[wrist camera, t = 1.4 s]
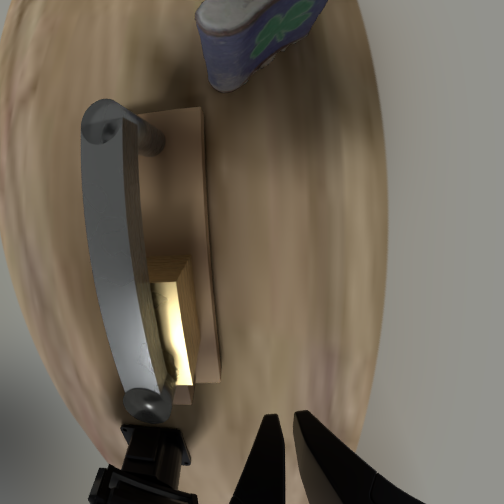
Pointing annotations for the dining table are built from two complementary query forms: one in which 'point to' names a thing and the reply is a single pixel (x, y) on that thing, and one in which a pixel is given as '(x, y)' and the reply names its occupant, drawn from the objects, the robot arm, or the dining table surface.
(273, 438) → the robot arm
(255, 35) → the flask
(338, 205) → the dining table surface
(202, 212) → the plane body
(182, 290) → the light wooden cube
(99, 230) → the lever
